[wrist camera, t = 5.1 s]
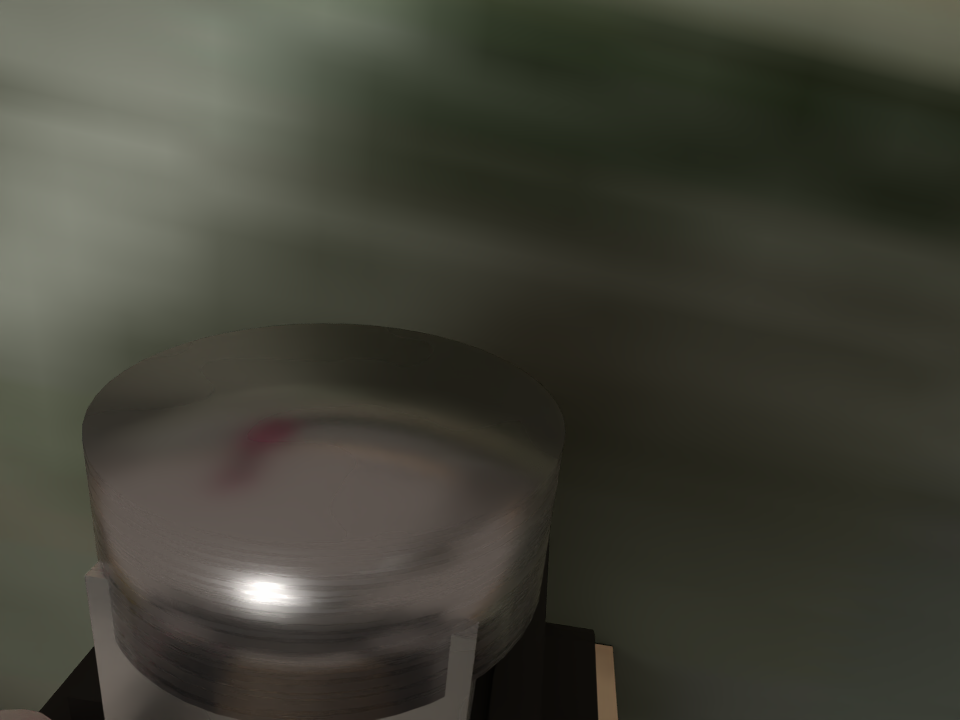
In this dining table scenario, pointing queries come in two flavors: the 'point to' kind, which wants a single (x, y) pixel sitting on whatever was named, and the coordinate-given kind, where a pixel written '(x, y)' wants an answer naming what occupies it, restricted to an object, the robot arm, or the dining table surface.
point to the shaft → (315, 524)
